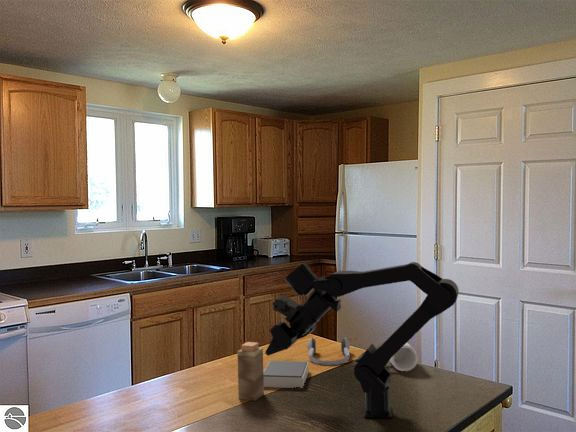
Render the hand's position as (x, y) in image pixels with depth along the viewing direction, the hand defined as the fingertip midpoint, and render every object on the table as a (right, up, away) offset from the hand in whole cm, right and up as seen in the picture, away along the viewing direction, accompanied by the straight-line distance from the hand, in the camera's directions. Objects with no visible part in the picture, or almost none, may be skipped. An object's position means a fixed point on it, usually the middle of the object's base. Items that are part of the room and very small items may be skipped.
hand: (274, 349), depth 132 cm
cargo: (-6, -1, +3) cm, 7 cm away
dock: (+3, -13, +16) cm, 20 cm away
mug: (+37, -12, +25) cm, 46 cm away
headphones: (+19, -13, +37) cm, 43 cm away
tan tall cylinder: (-6, -13, +3) cm, 15 cm away
